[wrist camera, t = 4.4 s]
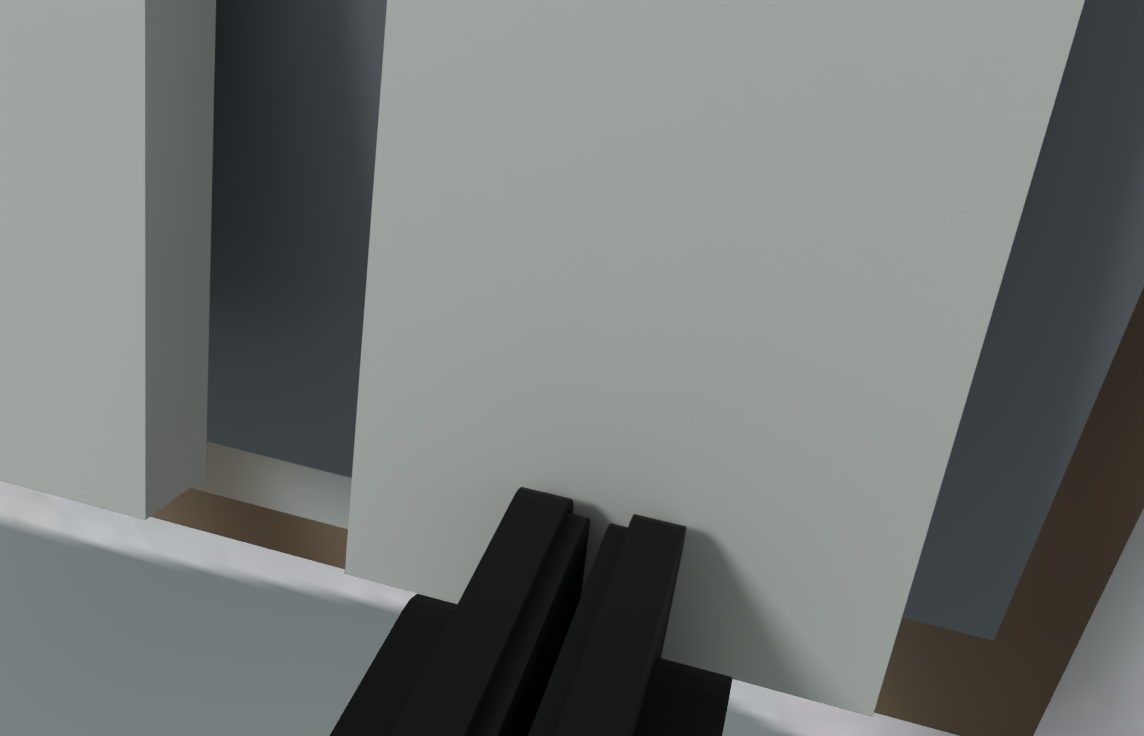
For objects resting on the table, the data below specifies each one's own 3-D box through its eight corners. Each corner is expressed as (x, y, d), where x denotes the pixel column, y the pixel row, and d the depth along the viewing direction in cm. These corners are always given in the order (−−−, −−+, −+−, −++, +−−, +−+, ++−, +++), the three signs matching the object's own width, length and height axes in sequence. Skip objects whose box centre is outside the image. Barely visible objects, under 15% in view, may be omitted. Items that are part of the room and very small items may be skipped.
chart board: (1721, -796, 9) (1823, -861, 8) (1020, 710, 20) (1025, 766, 19) (-758, -831, 15) (-886, -873, 14) (-274, 369, 26) (-326, 397, 25)
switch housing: (1254, -297, 11) (1430, -306, 7) (979, 458, 17) (997, 681, 13) (-564, -469, 16) (-1045, -530, 12) (-320, 167, 21) (-597, 267, 17)
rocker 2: (1106, -169, 9) (1142, -194, 8) (871, 648, 12) (872, 715, 10) (458, -245, 10) (408, -277, 9) (389, 522, 13) (344, 574, 11)
